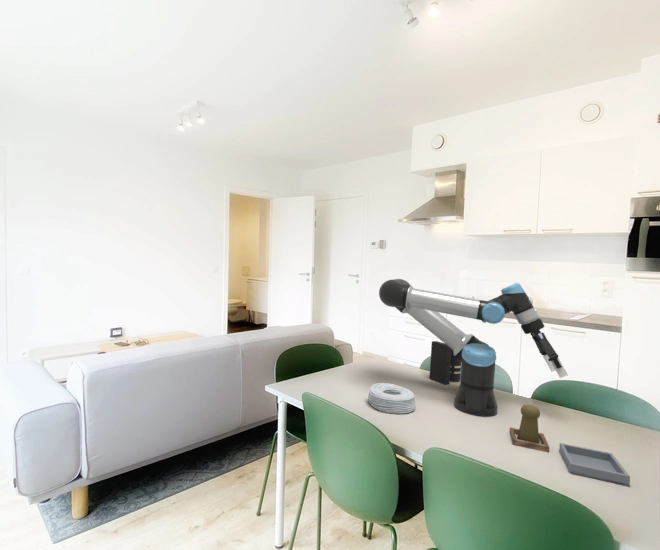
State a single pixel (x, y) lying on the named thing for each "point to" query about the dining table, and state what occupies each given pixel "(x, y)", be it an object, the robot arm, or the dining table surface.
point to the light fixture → (444, 364)
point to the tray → (593, 464)
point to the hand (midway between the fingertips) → (559, 373)
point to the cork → (529, 424)
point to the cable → (391, 398)
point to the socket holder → (532, 445)
